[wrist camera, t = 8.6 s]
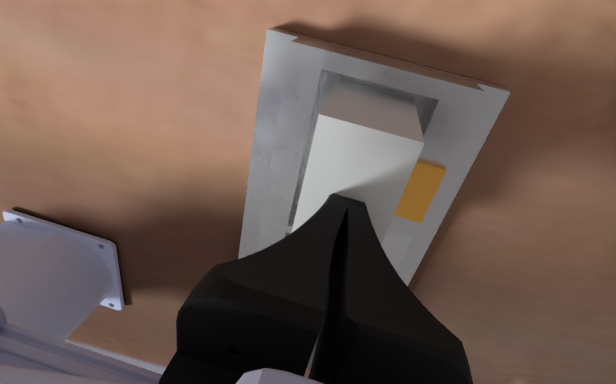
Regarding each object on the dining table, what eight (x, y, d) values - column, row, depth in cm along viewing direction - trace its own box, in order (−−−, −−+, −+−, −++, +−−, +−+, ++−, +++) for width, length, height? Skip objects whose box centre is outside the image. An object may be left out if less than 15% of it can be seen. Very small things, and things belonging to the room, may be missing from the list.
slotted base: (237, 292, 26) (208, 349, 22) (273, 27, 16) (231, 38, 12) (375, 336, 25) (372, 404, 21) (504, 86, 15) (548, 121, 11)
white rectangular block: (309, 201, 19) (283, 266, 15) (339, 78, 16) (318, 114, 11) (368, 218, 19) (361, 290, 14) (413, 98, 15) (424, 143, 11)
